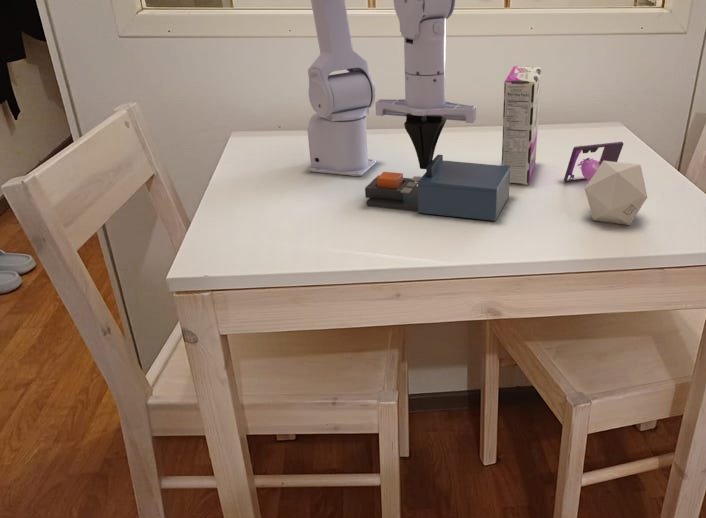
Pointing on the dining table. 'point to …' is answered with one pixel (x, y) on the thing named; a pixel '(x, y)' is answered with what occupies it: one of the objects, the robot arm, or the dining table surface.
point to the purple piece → (591, 165)
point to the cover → (463, 189)
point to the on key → (390, 180)
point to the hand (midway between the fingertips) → (425, 167)
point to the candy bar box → (521, 122)
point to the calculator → (392, 196)
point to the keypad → (411, 185)
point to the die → (616, 192)
